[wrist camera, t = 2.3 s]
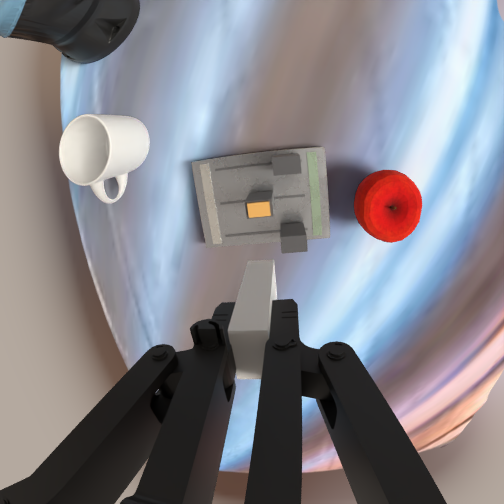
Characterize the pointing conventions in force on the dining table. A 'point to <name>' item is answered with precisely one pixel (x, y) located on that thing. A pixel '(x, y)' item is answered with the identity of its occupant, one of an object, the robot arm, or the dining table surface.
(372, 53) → the dining table surface
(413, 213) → the apple
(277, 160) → the block
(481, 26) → the dining table surface
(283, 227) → the breaker
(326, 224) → the panel
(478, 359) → the dining table surface
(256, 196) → the block
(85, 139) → the mug
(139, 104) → the dining table surface
